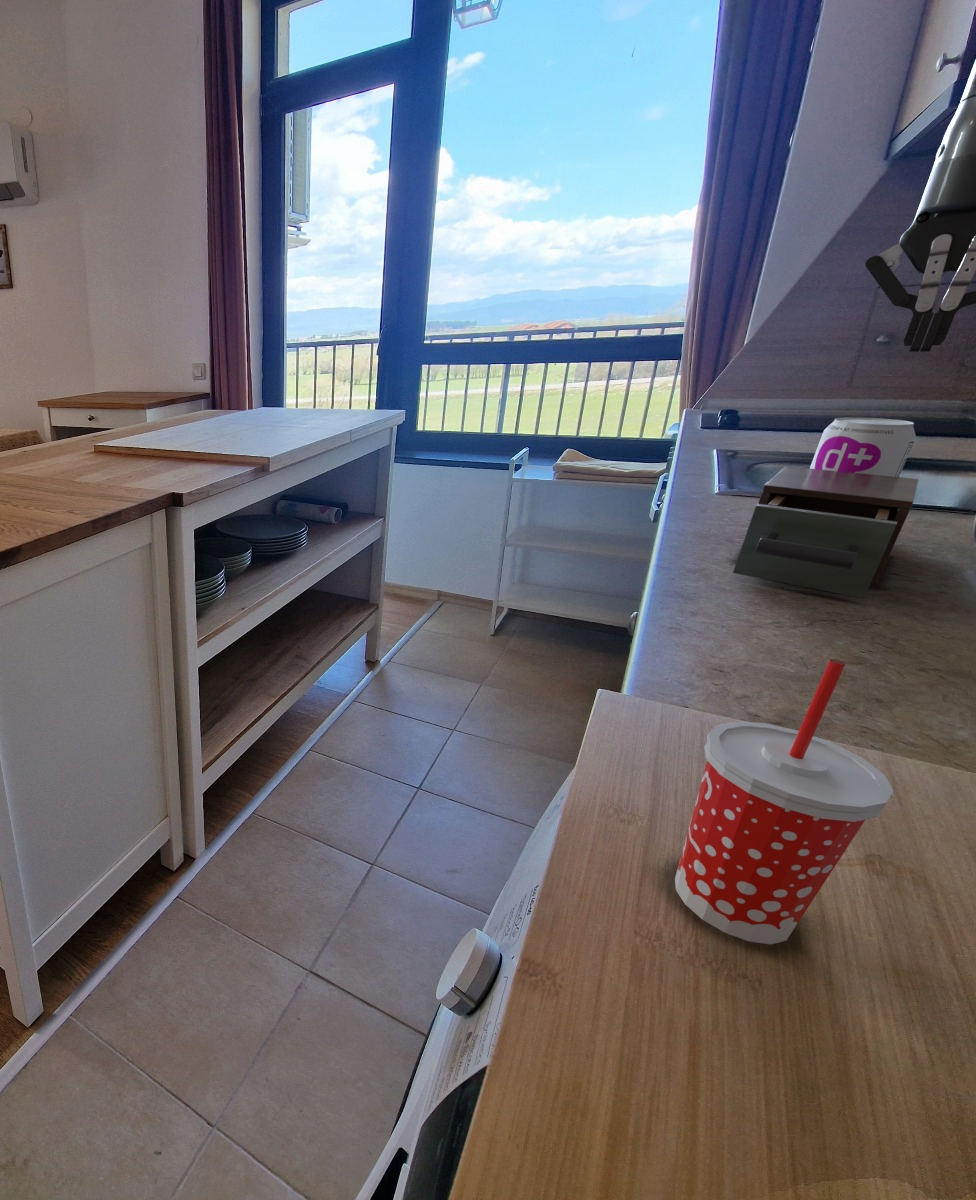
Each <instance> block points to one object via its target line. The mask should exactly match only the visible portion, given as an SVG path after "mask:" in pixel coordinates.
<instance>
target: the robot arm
mask: <svg viewBox="0 0 976 1200" xmlns="http://www.w3.org/2000/svg"><path fill="white" fill-rule="evenodd" d="M903 252H904V254H905V256H906V257H907V259H908V261H909V262H910V264H911V265H912V267H913V268H914V270H915V271H916V272H917V273H918V274H921V275H923V277H922V281H921V284H920V288H919V292H918V295H915V294H912V293H909V292H908V291H907V289H906V288H905V287H904V285H903V284H902V283H901V281H900V279H899V278H898V276H897V275H896V274H895V273H894V270H895V269H896V268H898V267H899V265H900V255H901V254H902V253H903ZM864 266H865V268H866V269H867V270H868V272H869V273H870V274H871V276H872V278H873V279H874V280H875V282H876V283H877V284H878V286H879V287H880V289H881V290H882V292H883V293H884V294H885V295H886V297H887V299H888V300H889V301H890V303H891V304H892V305H893V306H894V307H899V308H904V309H908V310H910V311H911V312H912V316H911V319H910V322H909V325H908V327H907V330H906V333H905V335H904V338H903V346H904V347H910V349H909V353H930V352H931V350H932V347H933V346H941V345H942V344H943V343H944V342H945V341H946V338H947V335H948V333H949V330H950V328H951V325H952V323H953V321H954V318H955V316H956V314H957V312H958V311H960V310H961V309H963V308H964V307H965V308H966V307H968V306H972V305H975V304H976V290H973V291H969V292H967V289H968V288H969V286H970V284H971V282H972V280H973V278H974V275H975V274H976V59H974V63H973V66H972V68H971V71H970V73H969V76H968V79H967V82H966V85H965V88H964V90H963V93H962V96H961V98H960V103H959V104H958V107H957V109H956V111H955V113H954V115H953V117H952V119H951V121H950V123H949V125H948V126H947V129H946V130H945V133H944V135H943V138H942V141H941V144H940V146H939V147H938V149H937V151H936V154H935V161H934V163H933V166H932V169H931V172H930V175H929V178H928V180H927V183H926V186H925V188H924V191H923V194H922V197H921V200H920V203H919V206H918V209H917V211H916V214H915V216H914V219H913V222H912V223H911V225H910V226H909V227H908V229H906V230H905V231H904V232H903V234H902V235H901V236H900V239H899V242H898V243H896V244H894V245H893V246H891V247H889V248H887V249H885V250H883V252H881V253H879V254H877V255H873V256H870V257H868V258H867V259H866V261H865V263H864ZM949 272H953V273H955V275H954V277H953V278H952V281H951V282H950V285H949V286H948V289H947V291H946V293H945V295H944V297H943V299H942V301H941V303H940V305H939V307H938V311H936V312H934V311H933V310H934V307H935V304H936V303H935V302H936V301H935V300H936V298H937V295H938V291H939V287H940V284H941V280H942V277H943V274H945V273H949Z"/></svg>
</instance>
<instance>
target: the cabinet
mask: <svg viewBox="0 0 976 1200" xmlns="http://www.w3.org/2000/svg"><path fill="white" fill-rule="evenodd" d="M918 482H919V479H918V478H911V477H903V476H901V477H900V476H899V477H892V476H881V475H871V474H860V473H850V472H839V471H829V470H818V469H810V468H809V467H808V468H806V467H797V466H787V465H786V466H784V467H783V468H781V470H779V472H778V473H776V474H775V475H774V476H773V477H772V478H770V480H769V481H767V482H766V483H764V485H763V487H762V491H761V494H760V496H759V500H758V502H757V504H764V505H768V504H769V503H770V502H771V501H772V500H773V499H774V498H775V497H776V496H777V495H778V494H786V495H794V496H803V497H811V498H820V499H828V500H836V501H845V502H853V503H862V504H870V505H878V506H887V507H891V510H890V513H889V516H888V519H887V520H888V521H895V522H897V525H896V527H895V529H894V532H893V534H892V536H891V538H890V541H889V543H888V545H887V548H886V550H885V552H884V554H883V557H882V559H881V561H880V563H879V566H878V568H877V570H876V572H875V575H874V577H873V579H872V581H871V584H870V586H869V588H872V589H876V587H877V585H878V582H879V580H880V578H881V576H882V574H883V571H884V569H885V567H886V564H887V562H888V560H889V558H890V555H891V553H892V551H893V548H894V546H895V544H896V543H897V539H898V537H899V535H900V533H901V531H902V529H903V526H904V524H905V522H906V519H907V517H908V515H909V514H910V510H911V508H912V506H913V504H914V501H915V496H916V493H917V487H918V484H919V483H918Z"/></svg>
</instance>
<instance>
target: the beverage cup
mask: <svg viewBox="0 0 976 1200" xmlns="http://www.w3.org/2000/svg"><path fill="white" fill-rule="evenodd" d="M845 666H846V662H844V661H843V660H840V659H836V658H830V659H829V660H828V663H827V665H826V668H825V670H824V672H823V675H822V677H821V679H820V681H819V683H818V686H817V687H816V688H817V689H816V691H815V693H814V696H813V698H812V700H811V702H810V705H809V707H808V709H807V711H806V713H805V716H804V718H803V720H802V723H801V725H800V727H799V730H797V729H792V728H788V727H784V726H779V725H775V724H772V723H771V724H770V723H766V722H753V721H742V720H741V721H739V720H738V721H730V722H725V723H719V724H718V723H717V725H716V726H715V727H713V728H712V729H711V730H710V731H709V732H708V733H707V735H706V743H705V745H704V746H703V748H704V749H703V750H704V754H705V759H706V760H705V761H706V763H705V766H704V771H703V774H702V779H701V782H700V786H699V789H698V793H697V795H696V796H697V797H696V800H695V803H694V808H693V811H692V815H691V818H690V823H689V826H688V829H687V832H686V837H685V841H684V845H683V848H682V851H681V855H680V859H679V863H678V865H677V866H678V867H677V870H676V874H675V877H674V883H675V884H674V885H675V891H676V893H677V894H678V896H679V897H680V899H681V900H682V902H683V903H684V905H685V906H686V907H688V908H689V909H690V910H691V911H692V912H693V913H694V914H695V915H696V916H698V917H699V918H700V919H701V920H702V921H704V922H705V923H707V924H710V925H711V926H713V927H714V928H715V929H718V930H720V931H721V932H723V933H725V934H727V935H729V936H733V937H736V938H738V939H741V940H743V941H746V942H751V943H758V944H766V945H774V944H778V943H782V942H786V941H788V939H789V937H790V936H791V934H792V933H793V931H794V930H795V928H796V927H797V925H798V924H799V922H800V921H801V919H802V917H804V914H805V913H806V911H807V910H808V909H809V907H810V905H811V904H812V902H813V901H814V899H815V898H816V897H817V894H818V893H819V891H820V890H821V888H822V887H823V885H824V884H825V882H826V881H827V879H828V878H829V876H830V875H831V873H832V871H834V869H835V867H836V866H837V864H838V863H839V861H840V860H841V858H842V856H843V855H844V854H845V852H846V850H848V849H847V848H848V847H849V846H850V844H851V843H852V841H853V840H854V838H855V836H856V835H857V833H858V832H859V831H860V829H861V827H862V826H863V824H864V823H865V821H866V820H870V819H875V818H878V817H879V815H880V814H881V813H882V811H883V809H884V808H885V806H886V805H887V803H888V802H889V800H890V798H891V797H892V795H893V793H894V790H893V787H892V785H891V784H890V782H889V780H888V777H886V775H885V774H884V773H883V772H881V771H880V770H878V769H877V768H876V767H875V766H873V765H872V764H871V763H870V762H869V761H867V760H866V759H864V758H863V757H861V756H860V755H857V754H855V753H853V752H851V751H849V750H847V749H845V748H844V747H842V746H840V745H837V744H836V743H834V742H832V741H828V740H827V739H823V738H821V737H817V736H815V733H816V731H817V728H818V727H819V724H820V721H821V719H822V718H823V715H824V713H825V710H826V708H827V706H828V704H829V702H830V699H831V697H832V695H833V693H834V690H835V688H836V687H837V684H838V681H839V680H840V677H841V675H842V672H843V670H844V668H845Z"/></svg>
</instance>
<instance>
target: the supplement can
mask: <svg viewBox="0 0 976 1200" xmlns="http://www.w3.org/2000/svg"><path fill="white" fill-rule="evenodd" d="M914 425H915V423H914V422H913V421H909V420H902V419H893V418H892V419H891V418H879V417H878V418H877V417H837V418H836V417H835V418H834V420H833V421H832V422H831V423H830V424H829V425H828V426H827V427H826V428H825V429H823V431H822V435H821V437H820V439H819V443H818V445H817V448H816V450H815V453H814V456H813V459H812V461H811V463H810V467H809V469H818V470H829V471H839V472H850V473H860V474H871V475H881V476H892V477H900V475H901V473H902V471H903V469H904V466H905V464H906V462H907V460H908V457H909V456H910V453H911V450H912V448H913V446H914V442H915V441H916V440H917V439H916V438H917V435H916V432H915V427H914Z"/></svg>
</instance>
